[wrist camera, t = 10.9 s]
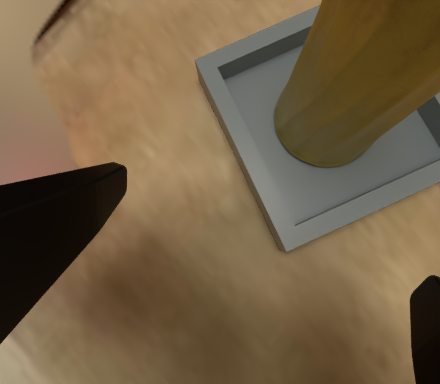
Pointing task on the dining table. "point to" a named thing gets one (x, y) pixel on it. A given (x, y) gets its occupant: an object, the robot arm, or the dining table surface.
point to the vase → (358, 77)
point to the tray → (292, 166)
